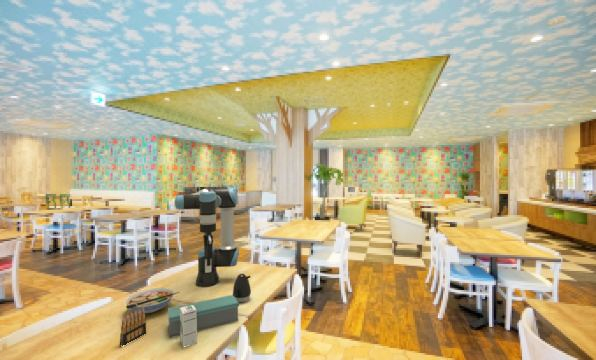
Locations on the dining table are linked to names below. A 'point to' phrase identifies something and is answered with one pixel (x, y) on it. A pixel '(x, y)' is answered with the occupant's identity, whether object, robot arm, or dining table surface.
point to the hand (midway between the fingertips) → (208, 271)
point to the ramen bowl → (150, 300)
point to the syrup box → (188, 325)
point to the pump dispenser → (241, 288)
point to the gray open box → (208, 320)
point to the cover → (205, 307)
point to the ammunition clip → (133, 327)
